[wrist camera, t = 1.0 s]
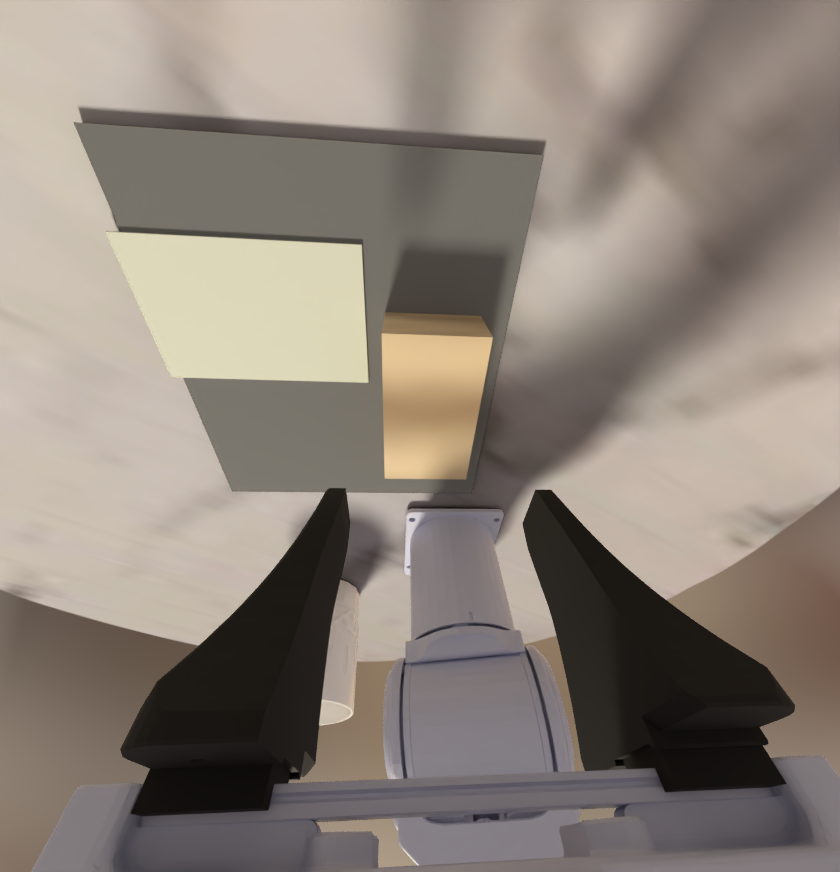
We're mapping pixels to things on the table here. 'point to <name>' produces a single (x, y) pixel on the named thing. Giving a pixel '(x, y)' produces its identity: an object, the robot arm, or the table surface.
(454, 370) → the oak block
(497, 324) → the rubber mat
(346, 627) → the white cup
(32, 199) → the table surface
